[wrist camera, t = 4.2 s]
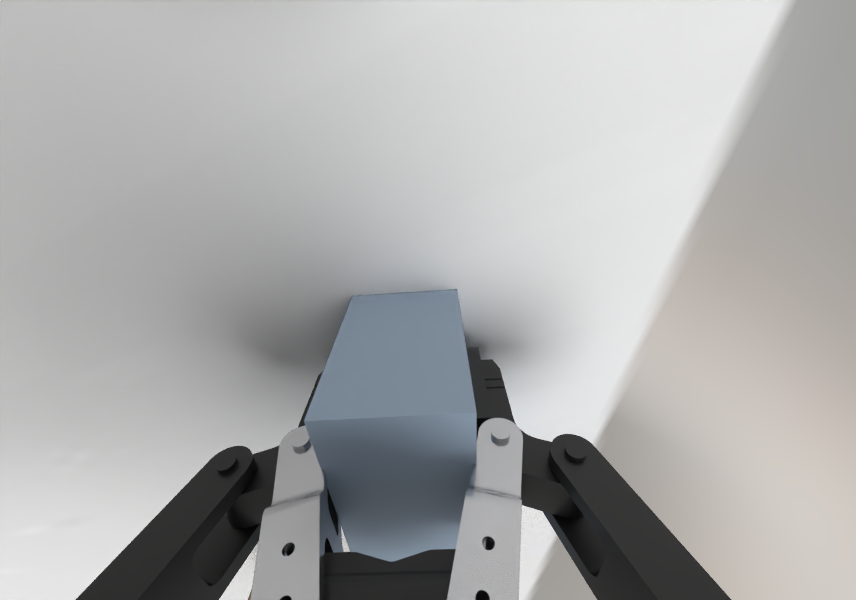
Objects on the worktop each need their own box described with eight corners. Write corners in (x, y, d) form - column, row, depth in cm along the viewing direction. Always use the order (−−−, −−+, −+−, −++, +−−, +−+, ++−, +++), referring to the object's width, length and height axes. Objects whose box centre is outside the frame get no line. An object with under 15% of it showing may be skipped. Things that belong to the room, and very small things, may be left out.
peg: (352, 296, 13) (304, 420, 8) (457, 289, 13) (476, 412, 8) (391, 484, 19) (377, 627, 14) (463, 481, 19) (476, 624, 14)
